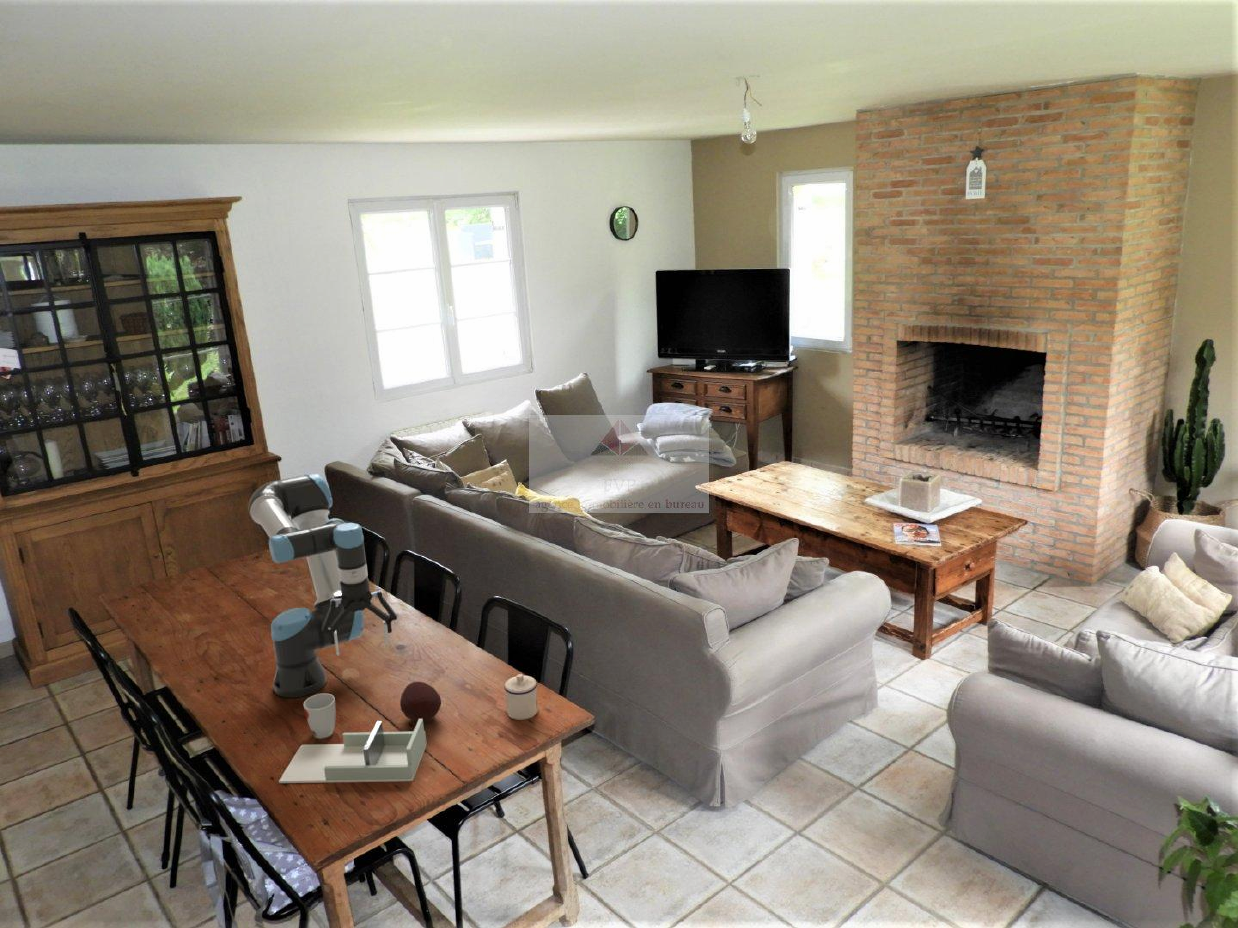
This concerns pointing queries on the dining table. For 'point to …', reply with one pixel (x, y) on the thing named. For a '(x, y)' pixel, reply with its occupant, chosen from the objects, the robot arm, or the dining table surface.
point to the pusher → (374, 745)
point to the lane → (358, 759)
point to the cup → (321, 714)
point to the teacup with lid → (521, 697)
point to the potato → (420, 702)
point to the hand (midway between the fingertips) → (362, 648)
